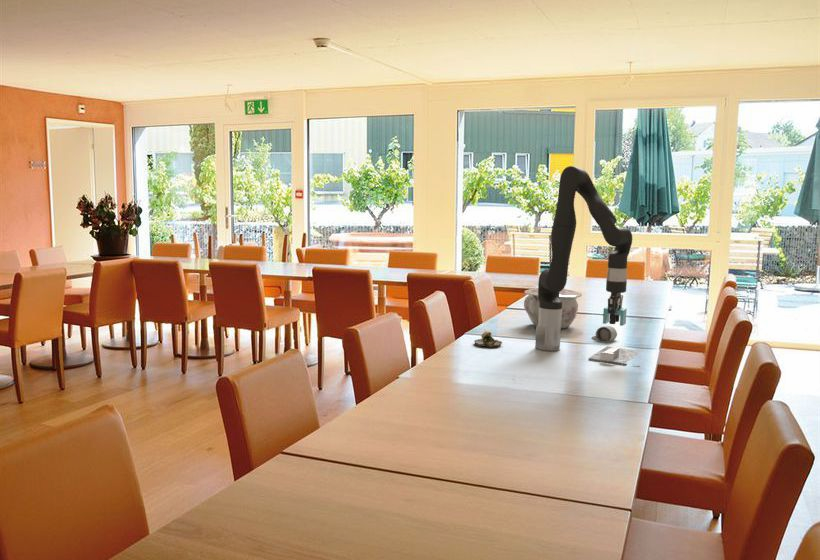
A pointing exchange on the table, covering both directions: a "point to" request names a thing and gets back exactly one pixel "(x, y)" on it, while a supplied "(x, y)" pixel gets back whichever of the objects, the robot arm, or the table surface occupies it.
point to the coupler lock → (618, 312)
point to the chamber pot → (567, 306)
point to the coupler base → (619, 359)
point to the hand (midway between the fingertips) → (614, 322)
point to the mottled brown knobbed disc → (487, 340)
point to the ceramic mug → (605, 334)
